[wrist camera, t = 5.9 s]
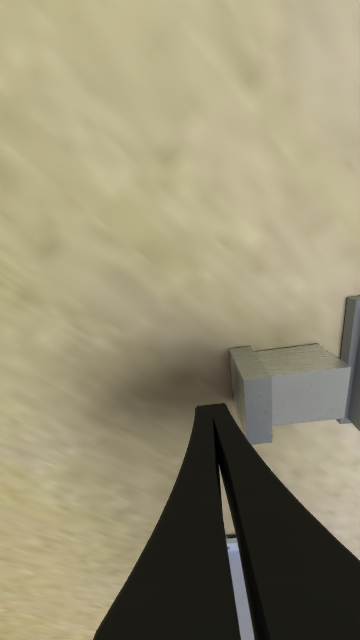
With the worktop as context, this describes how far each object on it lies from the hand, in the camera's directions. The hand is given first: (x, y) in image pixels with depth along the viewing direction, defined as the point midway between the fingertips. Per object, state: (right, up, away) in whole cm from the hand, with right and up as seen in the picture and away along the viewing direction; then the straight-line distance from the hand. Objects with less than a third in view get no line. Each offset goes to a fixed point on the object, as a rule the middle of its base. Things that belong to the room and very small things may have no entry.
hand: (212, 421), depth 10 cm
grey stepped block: (+4, +2, +3) cm, 5 cm away
